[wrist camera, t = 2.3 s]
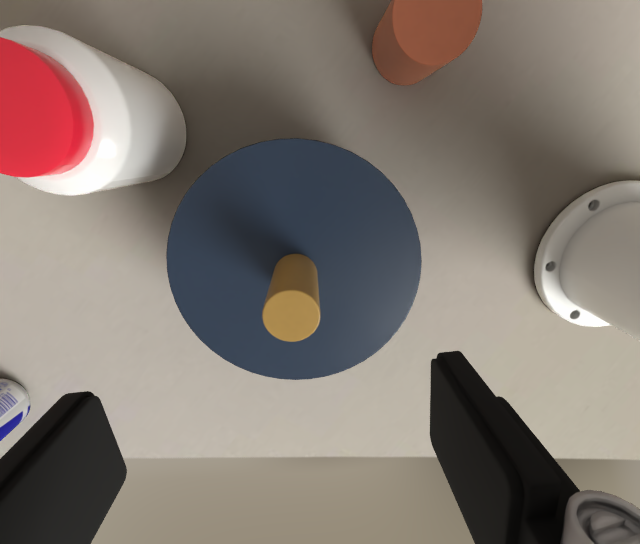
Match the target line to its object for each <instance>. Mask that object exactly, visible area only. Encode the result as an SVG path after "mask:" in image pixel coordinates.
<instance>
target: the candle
mask: <svg viewBox="0 0 640 544" xmlns="http://www.w3.org/2000/svg"><path fill="white" fill-rule="evenodd" d="M481 15H482V0H391V2H390V4H389V6H388V8H387V10H386V11H385V13H384V15H383V17H382V19H381V21H380V22H379V24H378V26H377V28H376V31H375V33H374V37H373V42H372V54H373V59H374V63H375V65H376V67H377V69H378V71H379V72H380V74H381V75H382V76H383V77H384V78H385V79H386V80H388V81H389V82H391V83H393V84H397V85H412V84H415V83H417V82H419V81H421V80H422V79H424V78H426V77H427V76H429V75H430V74H432V73H433V72H435V71H436V70H438V69H440V68H441V67H443V66H444V65H446V64H447V63H449V62H451V61H452V60H454V59H455V58H457V57H458V56H459V55H461V54H462V53H463V52H464V51H465V50H466V49H467V47H468V46H469V45H470V43H471V42H472V40H473V39H474V37H475V35H476V33H477V30H478V27H479V24H480V20H481Z"/></svg>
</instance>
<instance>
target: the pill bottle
mask: <svg viewBox="0 0 640 544" xmlns="http://www.w3.org/2000/svg"><path fill="white" fill-rule="evenodd" d="M186 137H187V136H186V125H185V121H184V116H183V113H182V111H181V109H180V107H179V104H178V102H177V101H176V99H175V98H174V96H173V95H172V93H171V92H170V91H169V90H168V89H167V88H166V87H165V86H164V85H163V84H162V83H161V82H160V81H158V80H157V79H156V78H154V77H153V76H151V75H149V74H147V73H145V72H143V71H141V70H139V69H137V68H135V67H133V66H131V65H129V64H127V63H125V62H123V61H121V60H119V59H117V58H115V57H113V56H110V55H108V54H106V53H104V52H102V51H100V50H98V49H96V48H94V47H92V46H90V45H88V44H86V43H84V42H82V41H79V40H77V39H75V38H73V37H71V36H69V35H67V34H65V33H63V32H60V31H57V30H54V29H50V28H47V27H43V26H31V25H20V26H14V27H8V28H5V29H3V30H1V31H0V173H2V174H6V175H10V176H14V177H16V178H17V179H19V180H21V181H22V182H24V183H25V184H27V185H29V186H32V187H34V188H36V189H39V190H41V191H45V192H49V193H53V194H57V195H70V196H75V195H82V194H89V193H94V192H100V191H105V190H110V189H115V188H121V187H126V186H131V185H137V184H142V183H147V182H152V181H155V180H158V179H161V178H163V177H164V176H166V175H167V174H169V173H170V172H171V171H172V170H173V169H174V168H175V167H176V166H177V165H178V163H179V161H180V160H181V158H182V156H183V153H184V150H185V145H186Z"/></svg>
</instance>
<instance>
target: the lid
mask: <svg viewBox="0 0 640 544" xmlns="http://www.w3.org/2000/svg"><path fill="white" fill-rule="evenodd" d="M167 272H168V277H169V283H170V287H171V290H172V293H173V296H174V299H175V302H176V304H177V306H178V308H179V310H180V312H181V314H182V316H183V318H184V319H185V321H186V322H187V324H188V325H189V327H190V328H191V329H192V331H193V332H194V333H195V334H196V335H197V336H198V338H199V339H200V340H201V341H202V342H203V343H204V344H206V345H207V346H208V347H209V348H210V349H211V350H212V351H214V352H215V353H216V354H218V355H219V356H221V357H222V358H223V359H225V360H227V361H229V362H230V363H232V364H234V365H236V366H238V367H240V368H242V369H245V370H247V371H250V372H252V373H256V374H259V375H263V376H267V377H273V378H278V379H292V380H299V379H312V378H319V377H325V376H328V375H332V374H336V373H339V372H341V371H344V370H346V369H349V368H351V367H353V366H355V365H357V364H359V363H361V362H363V361H364V360H366V359H367V358H369V357H370V356H372V355H373V354H374V353H376V352H377V351H378V350H379V349H380V348H382V347H383V346H384V345H385V344H386V343H387V342H388V341H389V340H390V339H391V338H392V336H393V335H394V334H395V333H396V332H397V331H398V329H399V328H400V326H401V325H402V323H403V322H404V320H405V319H406V317H407V315H408V313H409V311H410V309H411V307H412V305H413V302H414V299H415V296H416V293H417V290H418V285H419V280H420V274H421V247H420V241H419V236H418V231H417V228H416V225H415V222H414V219H413V217H412V214H411V212H410V210H409V208H408V206H407V204H406V202H405V200H404V199H403V197H402V196H401V195H400V193H399V192H398V190H397V189H396V188H395V186H394V185H393V184H392V183H391V182H390V181H389V180H388V179H387V178H386V177H385V175H384V174H383V173H382V172H380V171H379V170H378V169H377V168H375V167H374V166H373V165H372V164H370V163H369V162H368V161H366V160H364V159H363V158H361V157H359V156H358V155H356V154H354V153H352V152H350V151H348V150H345V149H343V148H341V147H338V146H336V145H332V144H329V143H325V142H321V141H317V140H308V139H299V138H291V139H275V140H269V141H264V142H259V143H256V144H253V145H250V146H247V147H243V148H241V149H239V150H237V151H235V152H233V153H231V154H229V155H227V156H225V157H224V158H222V159H221V160H219V161H218V162H216V163H215V164H213V165H212V166H211V167H210V168H208V169H207V170H206V171H205V172H204V173H203V174H202V175H201V176H200V177H199V178H198V179H197V180H196V181H195V182H194V184H193V185H192V186H191V187H190V189H189V190H188V191H187V193H186V194H185V196H184V198H183V199H182V201H181V203H180V205H179V206H178V208H177V211H176V213H175V216H174V218H173V221H172V224H171V228H170V232H169V237H168V244H167Z"/></svg>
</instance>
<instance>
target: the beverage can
mask: <svg viewBox="0 0 640 544" xmlns="http://www.w3.org/2000/svg"><path fill="white" fill-rule="evenodd" d="M29 410H30V401H29V396H28V393H27V391H26V390H25V389H24V388H23V387H22V386H21V385H20V384H18V383H16V382H14V381H12V380H8V379H0V441H1V440H2V439H3V438H4V437H5V436H6V435H7V434H8V433H10V432H11V431H12V430H13V429H14V428H15V427H16V426H17V425H18V424H19V423H20V422H21V421H22V420H23V419H24V418H25V417H26V416H27V415H28V413H29Z"/></svg>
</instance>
